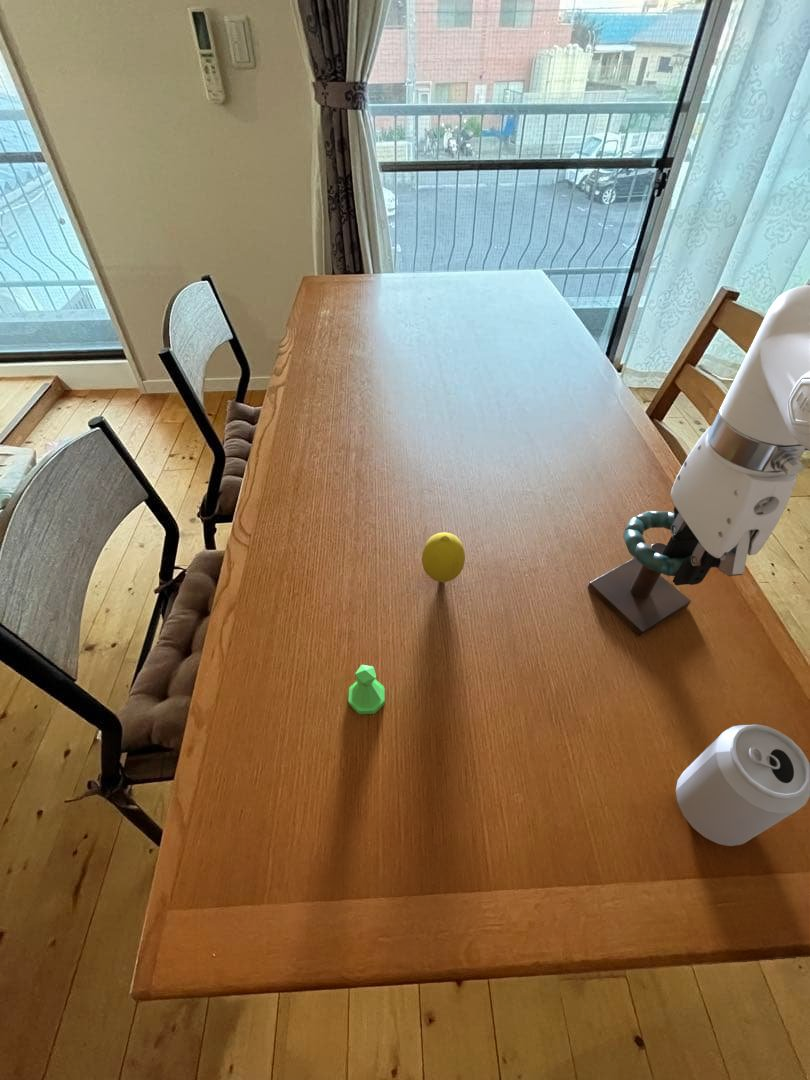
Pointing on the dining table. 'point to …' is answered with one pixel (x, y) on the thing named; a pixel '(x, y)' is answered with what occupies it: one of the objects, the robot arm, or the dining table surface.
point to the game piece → (366, 692)
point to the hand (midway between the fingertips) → (680, 570)
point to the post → (639, 594)
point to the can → (744, 784)
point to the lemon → (443, 557)
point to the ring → (642, 550)
